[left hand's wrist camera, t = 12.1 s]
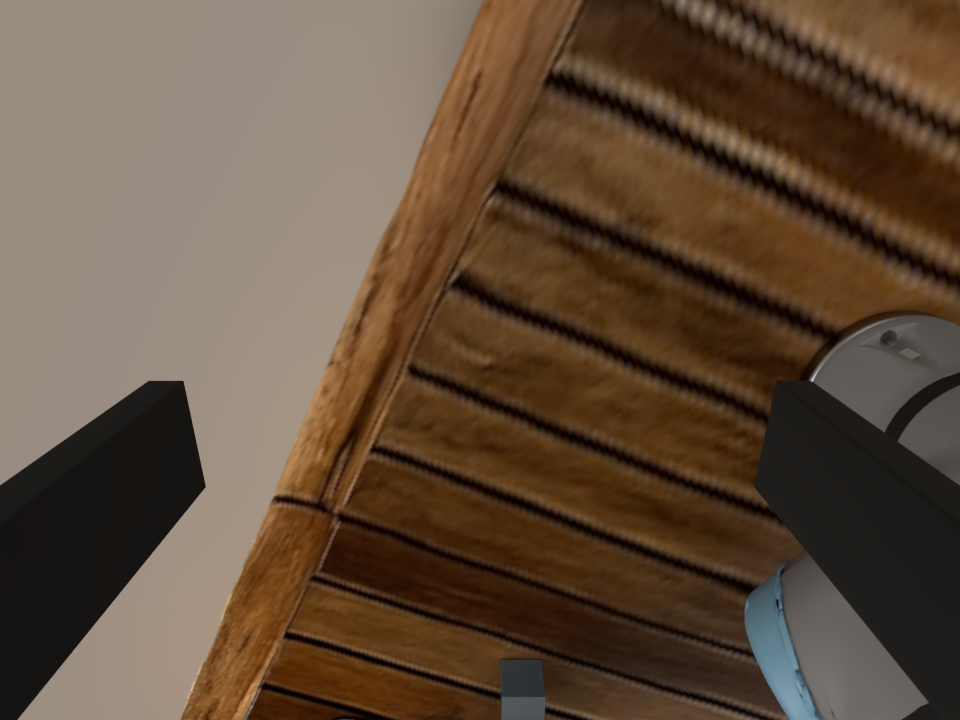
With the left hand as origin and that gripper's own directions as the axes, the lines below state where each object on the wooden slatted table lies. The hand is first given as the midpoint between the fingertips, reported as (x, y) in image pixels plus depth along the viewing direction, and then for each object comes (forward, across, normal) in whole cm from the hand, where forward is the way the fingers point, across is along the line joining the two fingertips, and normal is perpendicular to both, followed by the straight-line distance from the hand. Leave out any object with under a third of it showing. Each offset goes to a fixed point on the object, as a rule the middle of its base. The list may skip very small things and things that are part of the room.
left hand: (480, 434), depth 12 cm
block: (+34, -4, +49) cm, 60 cm away
